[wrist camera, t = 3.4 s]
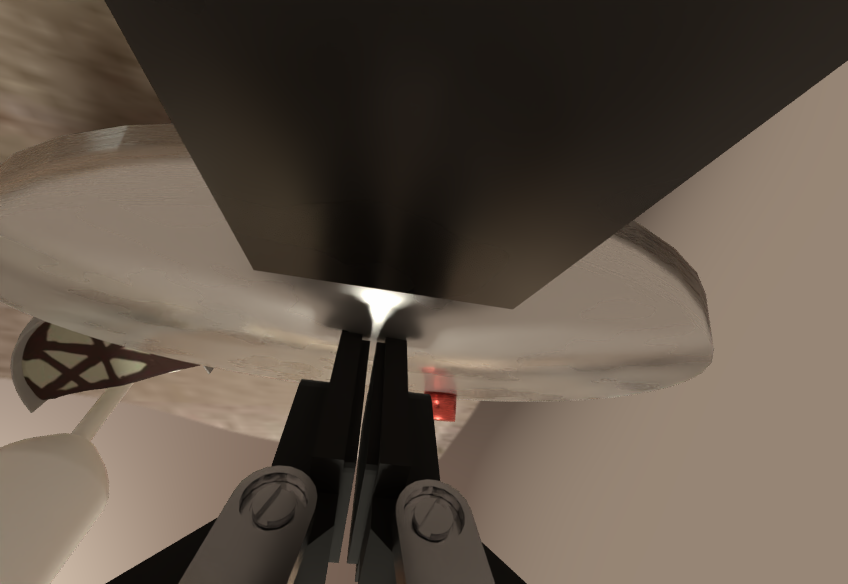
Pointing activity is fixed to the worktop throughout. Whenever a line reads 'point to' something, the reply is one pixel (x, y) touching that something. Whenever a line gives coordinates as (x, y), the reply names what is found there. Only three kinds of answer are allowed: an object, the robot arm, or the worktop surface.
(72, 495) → the champagne flute
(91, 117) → the worktop surface
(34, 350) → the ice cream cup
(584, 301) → the cooker lid
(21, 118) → the worktop surface
